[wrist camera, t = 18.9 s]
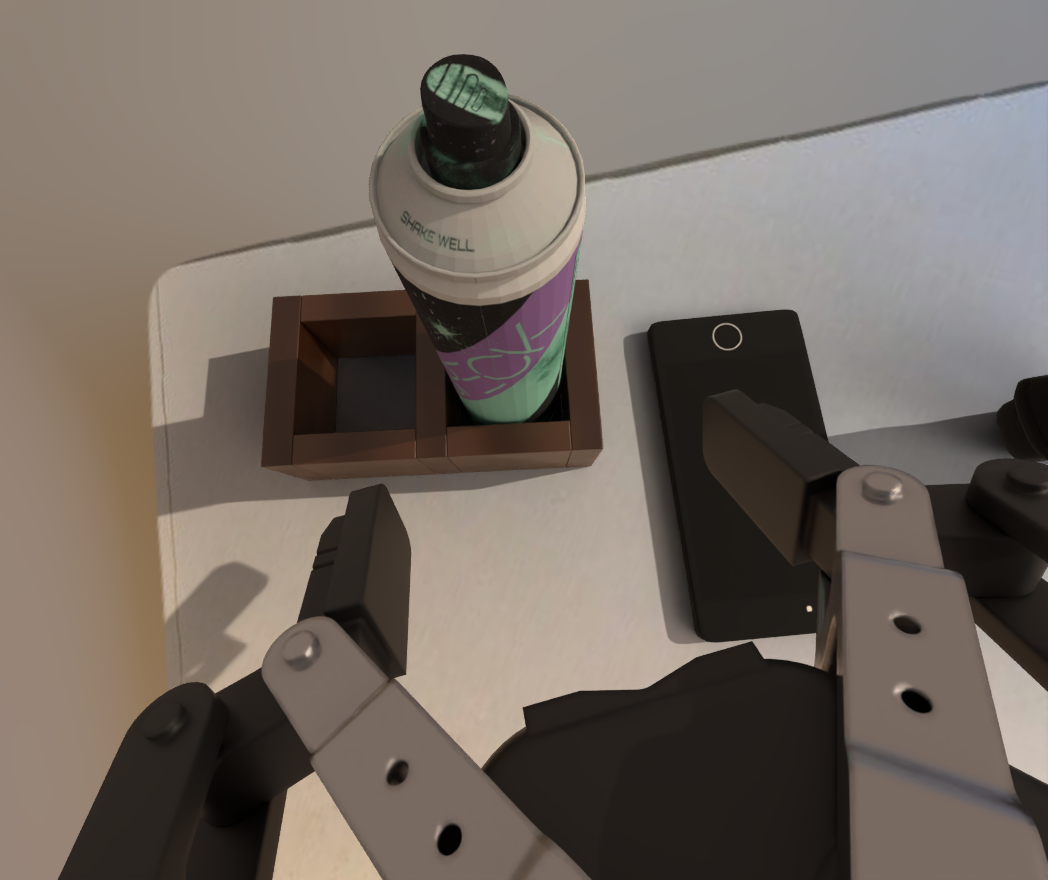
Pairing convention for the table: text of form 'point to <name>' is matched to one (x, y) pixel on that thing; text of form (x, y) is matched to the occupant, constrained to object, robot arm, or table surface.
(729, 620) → the cell phone
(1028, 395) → the controller
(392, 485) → the table surface
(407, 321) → the rack
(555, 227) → the spray can
